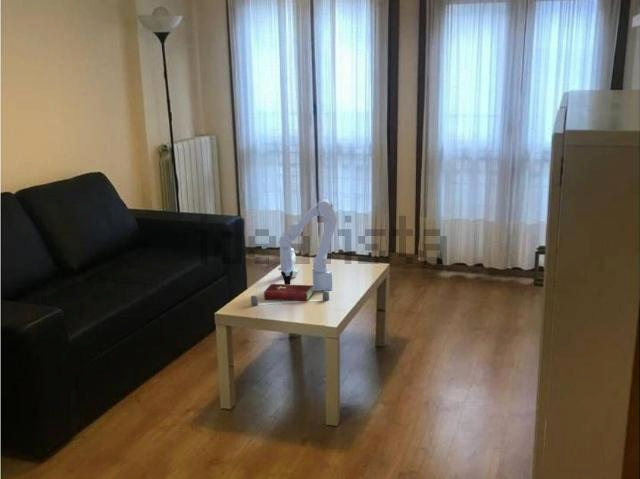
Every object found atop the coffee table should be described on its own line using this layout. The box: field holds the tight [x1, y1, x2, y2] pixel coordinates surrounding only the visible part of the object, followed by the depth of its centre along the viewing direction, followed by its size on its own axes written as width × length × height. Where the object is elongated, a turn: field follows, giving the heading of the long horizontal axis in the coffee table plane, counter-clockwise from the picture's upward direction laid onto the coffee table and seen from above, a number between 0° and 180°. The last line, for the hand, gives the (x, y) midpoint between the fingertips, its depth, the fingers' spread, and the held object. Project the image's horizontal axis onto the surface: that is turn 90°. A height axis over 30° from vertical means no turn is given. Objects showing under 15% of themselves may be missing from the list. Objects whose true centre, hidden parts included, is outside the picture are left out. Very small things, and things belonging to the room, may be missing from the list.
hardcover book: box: [263, 283, 315, 302], centre depth 310 cm, size 12×21×4 cm, turn 77°
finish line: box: [250, 290, 330, 307], centre depth 302 cm, size 36×3×4 cm, turn 97°
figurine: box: [291, 247, 301, 278], centre depth 340 cm, size 7×9×15 cm
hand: (287, 285), depth 320 cm, fingers closed
